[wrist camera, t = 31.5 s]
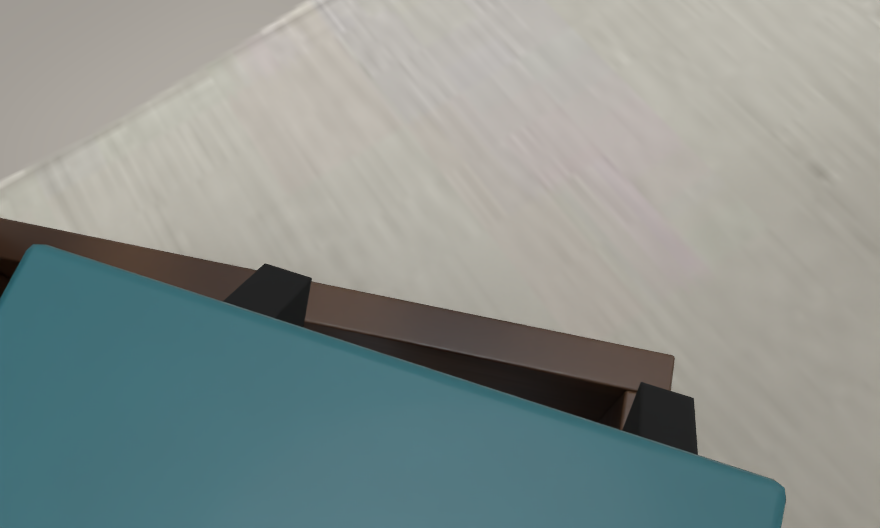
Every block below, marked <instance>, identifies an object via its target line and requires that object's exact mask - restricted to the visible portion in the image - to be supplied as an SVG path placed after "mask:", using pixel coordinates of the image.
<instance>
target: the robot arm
mask: <svg viewBox="0 0 880 528" xmlns="http://www.w3.org/2000/svg"><path fill="white" fill-rule="evenodd" d="M311 280H312V278H310V277H307V276H304V275H300V274H297V273H294V272H291V271H288V270H285V269H281V268H278V267H275V266H272V265H269V264H264V265H263V266H262V267H260V268H259V269H258V270H257V271H256V272H255V273H254V274H253V275H251V276H250V277H249V278H248V279H247V280H246V281H245V282H244V283H243V284H241V285H240V286H239V287H238V288H237V289H236V290H235V291H234V292H233V293H231V294H230V295H229V296H228V297H227V298H226V299H225V300H224V301H223V302H226V303H229V304H232V305H235V306H238V307H241V308H244V309H247V310H250V311H253V312H257V313H260V314H263V315H266V316H269V317H272V318H275V319H278V320H281V321H284V322H288V323H291V324H294V325H297V326H300V327H304V321H305V316H306V310H307V304H308V298H309V292H310V286H311ZM622 431H625V432H628V433H631V434H634V435H637V436H640V437H644V438H647V439H650V440H653V441H656V442H659V443H662V444H665V445H668V446H671V447H675V448H678V449H681V450H684V451H687V452H690V453H693V454H696V455H698V450H697V437H696V423H695V410H694V398H691V397H688V396H685V395H682V394H679V393H675V392H672V391H669V390H666V389H663V388H660V387H656V386H653V385H650V384H647V383H644V382H641V383H640V385H639V388H638V391H637V393H636V396H635V398H634V401H633V404H632V406H631V409H630V411H629V414H628V417H627V419H626V422H625V424H624V427H623V429H622Z"/></svg>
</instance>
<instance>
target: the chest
mask: <svg viewBox="0 0 880 528" xmlns="http://www.w3.org/2000/svg"><path fill="white" fill-rule="evenodd" d="M33 244H43V245H49V246H52V247H55V248H58V249H62V250H65V251H68V252H71V253H74V254H77V255H80V256H83V257H86V258H89V259H93V260H96V261H99V262H102V263H105V264H108V265H111V266H114V267H117V268H120V269H123V270H127V271H130V272H133V273H136V274H139V275H142V276H145V277H148V278H151V279H154V280H158V281H161V282H164V283H167V284H170V285H173V286H176V287H179V288H182V289H185V290H188V291H192V292H195V293H198V294H201V295H204V296H207V297H210V298H213V299H216V300H219V301H224V300H225V299H226V298H227V297H228V296H229V295H230V294H231V293H233V292H234V291H235V290H236V289H237V288H238V287H239V286H240V285H241V284H243V283H244V282H245V281H246V280H247V279H248V278H249V277H250V276H251V275H253V274H254V273H255V272H256V271H257V270H253V269H248V268H243V267H238V266H233V265H228V264H223V263H218V262H213V261H208V260H204V259H199V258H194V257H189V256H184V255H179V254H174V253H169V252H164V251H160V250H155V249H150V248H145V247H140V246H135V245H130V244H125V243H120V242H116V241H111V240H106V239H101V238H96V237H91V236H86V235H81V234H76V233H72V232H67V231H62V230H57V229H52V228H47V227H42V226H37V225H32V224H27V223H23V222H18V221H13V220H8V219H3V218H0V298H1V296H2V294H3V292H4V290H5V288H6V287H7V285H8V283H9V281H10V279H11V277H12V276H13V274H14V272H15V270H16V268H17V266H18V265H19V263H20V261H21V259H22V257H23V255H24V254H25V252H26V250H27V249H28V248H29V247H30V246H31V245H33ZM303 328H306V329H309V330H312V331H315V332H319V333H322V334H325V335H328V336H331V337H334V338H337V339H340V340H343V341H346V342H349V343H353V344H356V345H359V346H362V347H365V348H368V349H371V350H374V351H377V352H380V353H384V354H387V355H390V356H393V357H396V358H399V359H402V360H405V361H408V362H411V363H414V364H418V365H421V366H424V367H427V368H430V369H433V370H436V371H439V372H442V373H445V374H449V375H452V376H455V377H458V378H461V379H464V380H467V381H470V382H473V383H476V384H479V385H483V386H486V387H489V388H492V389H495V390H498V391H501V392H504V393H507V394H510V395H514V396H517V397H520V398H523V399H526V400H529V401H532V402H535V403H538V404H541V405H545V406H548V407H551V408H554V409H557V410H560V411H563V412H566V413H569V414H572V415H575V416H579V417H582V418H585V419H588V420H591V421H594V422H597V423H600V424H603V425H606V426H610V427H613V428H616V429H619V430H622V429H623V427H624V424H625V422H626V419H627V417H628V414H629V411H630V409H631V406H632V404H633V401H634V398H635V396H636V393H637V391H638V388H639V385H640V383H641V382H644V383H647V384H650V385H653V386H656V387H660V388H663V389H666V390H669V391H671V384H672V376H673V368H674V360H675V358H674V356H673V355H668V354H664V353H659V352H654V351H649V350H644V349H639V348H634V347H629V346H624V345H619V344H615V343H610V342H605V341H600V340H595V339H590V338H585V337H580V336H575V335H571V334H566V333H561V332H556V331H551V330H546V329H541V328H536V327H531V326H527V325H522V324H517V323H512V322H507V321H502V320H497V319H492V318H487V317H482V316H478V315H473V314H468V313H463V312H458V311H453V310H448V309H443V308H438V307H434V306H429V305H424V304H419V303H414V302H409V301H404V300H399V299H394V298H390V297H385V296H380V295H375V294H370V293H365V292H360V291H355V290H350V289H345V288H341V287H336V286H331V285H326V284H321V283H316V282H311V286H310V292H309V298H308V304H307V310H306V316H305V321H304V327H303Z"/></svg>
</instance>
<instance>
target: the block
mask: <svg viewBox="0 0 880 528" xmlns="http://www.w3.org/2000/svg"><path fill="white" fill-rule="evenodd" d="M785 503H786V496H785V488H784V487H783V486H781V485H780V484H779V483H777V482H776V481H775V480H773V479H770V478H767V477H764V476H761V475H758V474H755V473H752V472H749V471H746V470H743V469H740V468H736V467H733V466H730V465H727V464H724V463H721V462H718V461H715V460H712V459H709V458H705V457H702V456H699V455H696V454H693V453H690V452H687V451H684V450H681V449H678V448H675V447H671V446H668V445H665V444H662V443H659V442H656V441H653V440H650V439H647V438H644V437H640V436H637V435H634V434H631V433H628V432H625V431H622V430H619V429H616V428H613V427H610V426H606V425H603V424H600V423H597V422H594V421H591V420H588V419H585V418H582V417H579V416H575V415H572V414H569V413H566V412H563V411H560V410H557V409H554V408H551V407H548V406H545V405H541V404H538V403H535V402H532V401H529V400H526V399H523V398H520V397H517V396H514V395H510V394H507V393H504V392H501V391H498V390H495V389H492V388H489V387H486V386H483V385H479V384H476V383H473V382H470V381H467V380H464V379H461V378H458V377H455V376H452V375H449V374H445V373H442V372H439V371H436V370H433V369H430V368H427V367H424V366H421V365H418V364H414V363H411V362H408V361H405V360H402V359H399V358H396V357H393V356H390V355H387V354H384V353H380V352H377V351H374V350H371V349H368V348H365V347H362V346H359V345H356V344H353V343H349V342H346V341H343V340H340V339H337V338H334V337H331V336H328V335H325V334H322V333H319V332H315V331H312V330H309V329H306V328H303V327H300V326H297V325H294V324H291V323H288V322H284V321H281V320H278V319H275V318H272V317H269V316H266V315H263V314H260V313H257V312H253V311H250V310H247V309H244V308H241V307H238V306H235V305H232V304H229V303H226V302H223V301H219V300H216V299H213V298H210V297H207V296H204V295H201V294H198V293H195V292H192V291H188V290H185V289H182V288H179V287H176V286H173V285H170V284H167V283H164V282H161V281H158V280H154V279H151V278H148V277H145V276H142V275H139V274H136V273H133V272H130V271H127V270H123V269H120V268H117V267H114V266H111V265H108V264H105V263H102V262H99V261H96V260H93V259H89V258H86V257H83V256H80V255H77V254H74V253H71V252H68V251H65V250H62V249H58V248H55V247H52V246H49V245H43V244H33V245H31V246H30V247H29V248H28V249H27V250H26V252H25V254H24V255H23V257H22V259H21V261H20V263H19V265H18V266H17V268H16V270H15V272H14V274H13V276H12V277H11V279H10V281H9V283H8V285H7V287H6V288H5V290H4V292H3V294H2V296H1V298H0V528H781V525H782V520H783V514H784V508H785Z"/></svg>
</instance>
